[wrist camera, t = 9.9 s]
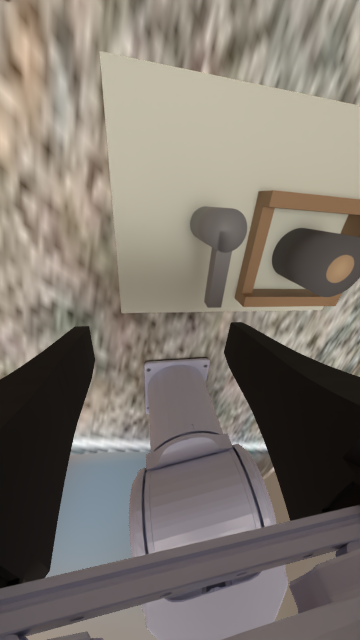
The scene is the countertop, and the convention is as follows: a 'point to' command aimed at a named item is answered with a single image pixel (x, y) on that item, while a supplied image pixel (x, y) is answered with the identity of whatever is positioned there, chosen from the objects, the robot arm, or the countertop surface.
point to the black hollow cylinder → (318, 260)
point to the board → (220, 185)
